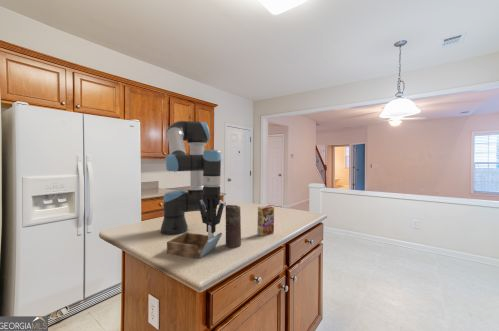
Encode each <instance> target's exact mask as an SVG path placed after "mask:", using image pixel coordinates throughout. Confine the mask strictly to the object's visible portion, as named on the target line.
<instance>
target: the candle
mask: <svg viewBox="0 0 499 331" xmlns="http://www.w3.org/2000/svg"><path fill="white" fill-rule="evenodd" d="M224 207H225V247H226V248H229V249H238V248H240V247H241V246H242V229H241V228H242V227H241V221H242V219H241V206H239V205H236V204H226V205H225V206H224Z"/></svg>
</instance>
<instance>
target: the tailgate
mask: <svg viewBox="0 0 499 331" xmlns="http://www.w3.org/2000/svg"><path fill="white" fill-rule="evenodd" d="M222 235H223V233H222V232H219V233H217V234H216V235H214V237H213V238H211V239H210V240H208V241H207V243H206V244H205V246H204V248H203V250H202V252H201V254H200V256H199V257H198V258H197V259H202V258H203V257H205V256H206V255H207V254H208V253H210V252H211V251H213V250H214V249H215V248H216V246H217V244H218V243H219V240H220V239H221V237H222Z"/></svg>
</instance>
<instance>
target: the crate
mask: <svg viewBox="0 0 499 331" xmlns="http://www.w3.org/2000/svg"><path fill="white" fill-rule="evenodd" d="M207 241H208V234H202V233H196V232H195V233H193V232H187V231H186V232H183V233H181V234H180V235H178V236H176V237H174V238H172V239H170V240H168V241H167V242H166V254H168V255H172V256H174V255H175V256H180V257H185V258H190V259H191V258H192V259H199V258H198V257H199V256H200V254H201V252H202V250H203V248H204V246H205V244H206V243H207Z"/></svg>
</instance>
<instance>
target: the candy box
mask: <svg viewBox="0 0 499 331" xmlns="http://www.w3.org/2000/svg"><path fill="white" fill-rule="evenodd" d="M256 231H257V233H256V234H257V235H258V236H261V237H262V236H266V235H267V236H268V235H271V234H274V232H275V206H273V205H266V206H265V205H264V206H257V230H256Z"/></svg>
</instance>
